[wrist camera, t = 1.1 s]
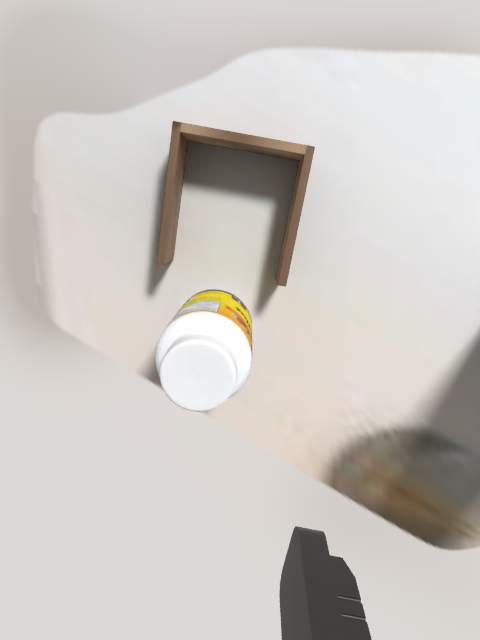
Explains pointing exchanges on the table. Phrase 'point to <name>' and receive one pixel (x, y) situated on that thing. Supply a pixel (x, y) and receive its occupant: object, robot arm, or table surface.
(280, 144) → the walnut u rest
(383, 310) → the table surface
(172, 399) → the supplement bottle
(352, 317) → the table surface
